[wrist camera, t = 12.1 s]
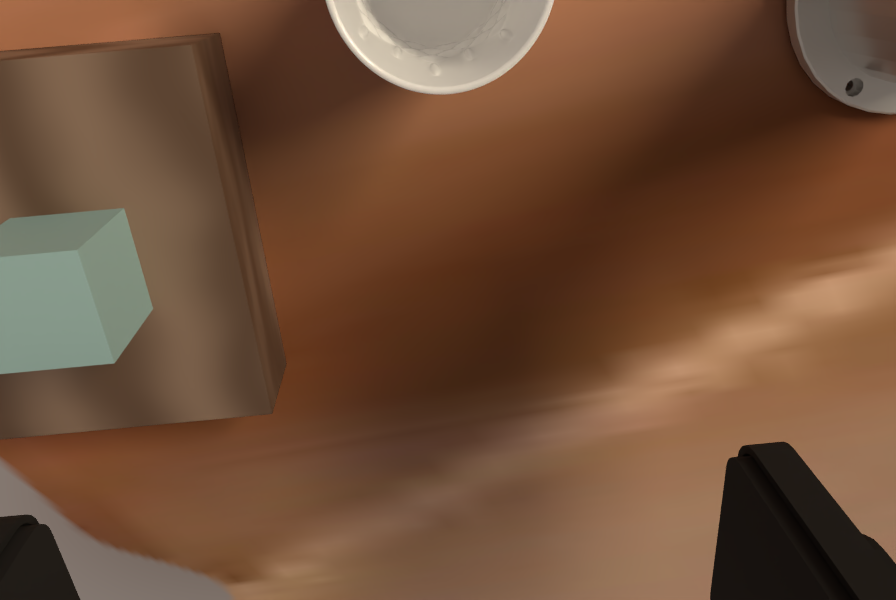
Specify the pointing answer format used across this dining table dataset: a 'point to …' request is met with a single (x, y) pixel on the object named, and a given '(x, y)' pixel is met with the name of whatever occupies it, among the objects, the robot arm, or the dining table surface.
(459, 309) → the dining table surface
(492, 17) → the white cup
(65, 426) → the walnut riser
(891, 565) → the robot arm
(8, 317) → the teal block
